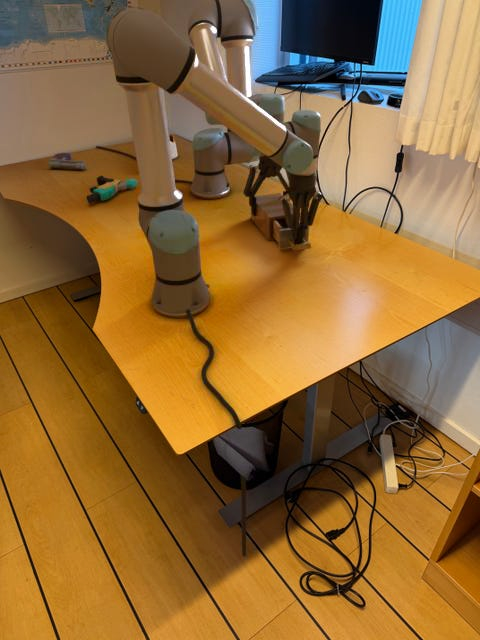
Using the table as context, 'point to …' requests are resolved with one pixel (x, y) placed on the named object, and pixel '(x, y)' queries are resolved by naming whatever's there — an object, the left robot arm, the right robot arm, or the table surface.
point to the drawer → (287, 235)
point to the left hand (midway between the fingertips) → (298, 247)
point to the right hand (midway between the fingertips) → (269, 212)
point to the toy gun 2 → (108, 188)
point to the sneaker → (173, 147)
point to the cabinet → (268, 212)
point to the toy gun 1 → (66, 162)
